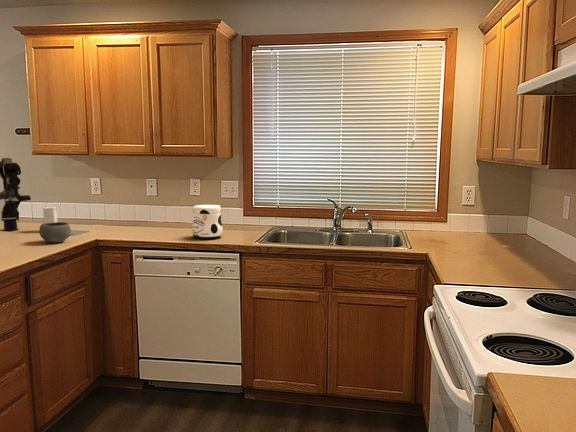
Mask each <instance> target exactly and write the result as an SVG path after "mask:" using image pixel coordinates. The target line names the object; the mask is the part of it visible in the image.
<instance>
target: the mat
mask: <svg viewBox="0 0 576 432" xmlns="http://www.w3.org/2000/svg"><path fill="white" fill-rule="evenodd" d="M70 230H71V231H70V235H69V236H77V235H81V234H85V233H89V230H77V229H70Z"/></svg>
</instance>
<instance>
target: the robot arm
mask: <svg viewBox="0 0 576 432" xmlns="http://www.w3.org/2000/svg"><path fill="white" fill-rule="evenodd" d="M21 175H22V170H21V166H20V165H19V164H18V162H14V161H13V160H12V158H10V157H3V158H1V160H0V178H1V180H2V188H3V190H2V191H0V201H1V200H4V205H3V207H2V208H1V209H2V210H1V212H0V213H1V215H0V216H1V218H0V219H1V221H2V222H3V229H2V230H1V231H3V232H13V231H17V230H19V229H20V228H18V223H17V221H19V220H20V212H19V211H18V207H19V206H20V204H21V202H26V201H28V202H29V201H31V200H32V198H31V196H30V195H29V194H23V195H21V193H19V190H20V189H21V186H19V185H20V183H21V179H20V178H19V176H21ZM19 231H20V230H19Z"/></svg>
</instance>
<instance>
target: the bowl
mask: <svg viewBox="0 0 576 432" xmlns="http://www.w3.org/2000/svg"><path fill="white" fill-rule="evenodd" d="M71 230H72V229H71V227H70V224H69V223H68V222H63V221H61V222H60V221H59V222H58V221H57V222H54V223H44V222H43V223H41V224H40V226H39V231H38V232H39V236H40V238H41V239H42V240H44V241H45V242H48V243H51V244H53V243H54V244H55V243H61V242H64V241H66V240H67V239H68V238H69V237H70V236H71V235H70V231H71Z"/></svg>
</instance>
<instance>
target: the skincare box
mask: <svg viewBox="0 0 576 432" xmlns="http://www.w3.org/2000/svg"><path fill="white" fill-rule="evenodd" d="M42 210H43V211H42V212H43V224H44V223H54V222H58V213H57V206H46V207H43V208H42Z"/></svg>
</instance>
